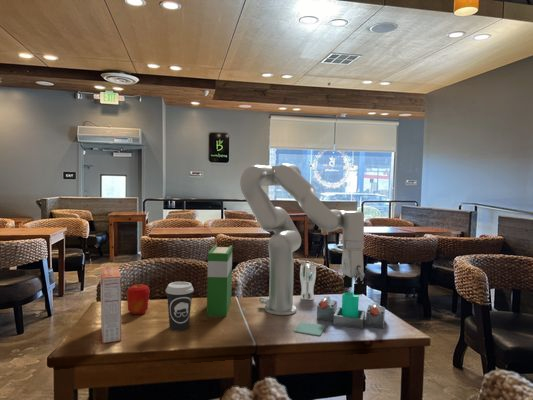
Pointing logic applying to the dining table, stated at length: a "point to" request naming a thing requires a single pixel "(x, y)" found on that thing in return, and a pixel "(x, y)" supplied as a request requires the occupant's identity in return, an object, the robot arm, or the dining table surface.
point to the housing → (336, 316)
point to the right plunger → (375, 309)
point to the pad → (309, 328)
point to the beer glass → (307, 280)
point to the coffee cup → (179, 304)
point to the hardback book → (219, 281)
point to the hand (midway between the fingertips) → (352, 290)
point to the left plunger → (324, 302)
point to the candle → (350, 304)
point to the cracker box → (110, 304)
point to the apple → (138, 298)
